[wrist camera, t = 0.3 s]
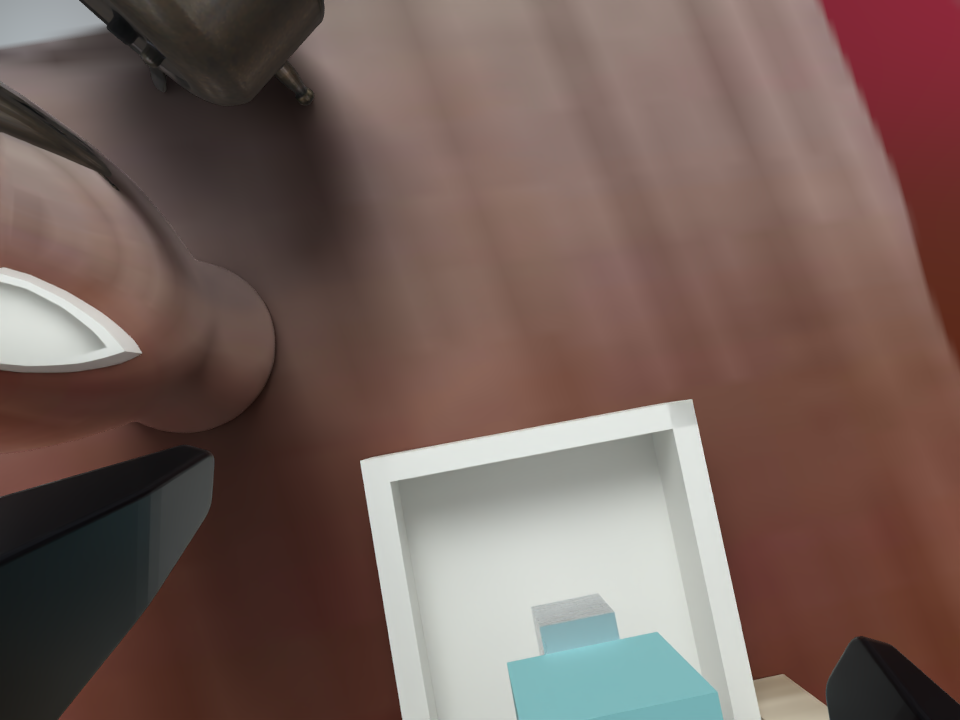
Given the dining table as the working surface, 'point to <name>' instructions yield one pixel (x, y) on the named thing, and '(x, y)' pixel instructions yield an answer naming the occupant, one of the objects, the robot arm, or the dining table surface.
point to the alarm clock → (215, 42)
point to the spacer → (612, 684)
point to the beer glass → (108, 301)
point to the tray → (550, 554)
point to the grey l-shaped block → (574, 624)
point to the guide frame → (787, 700)
